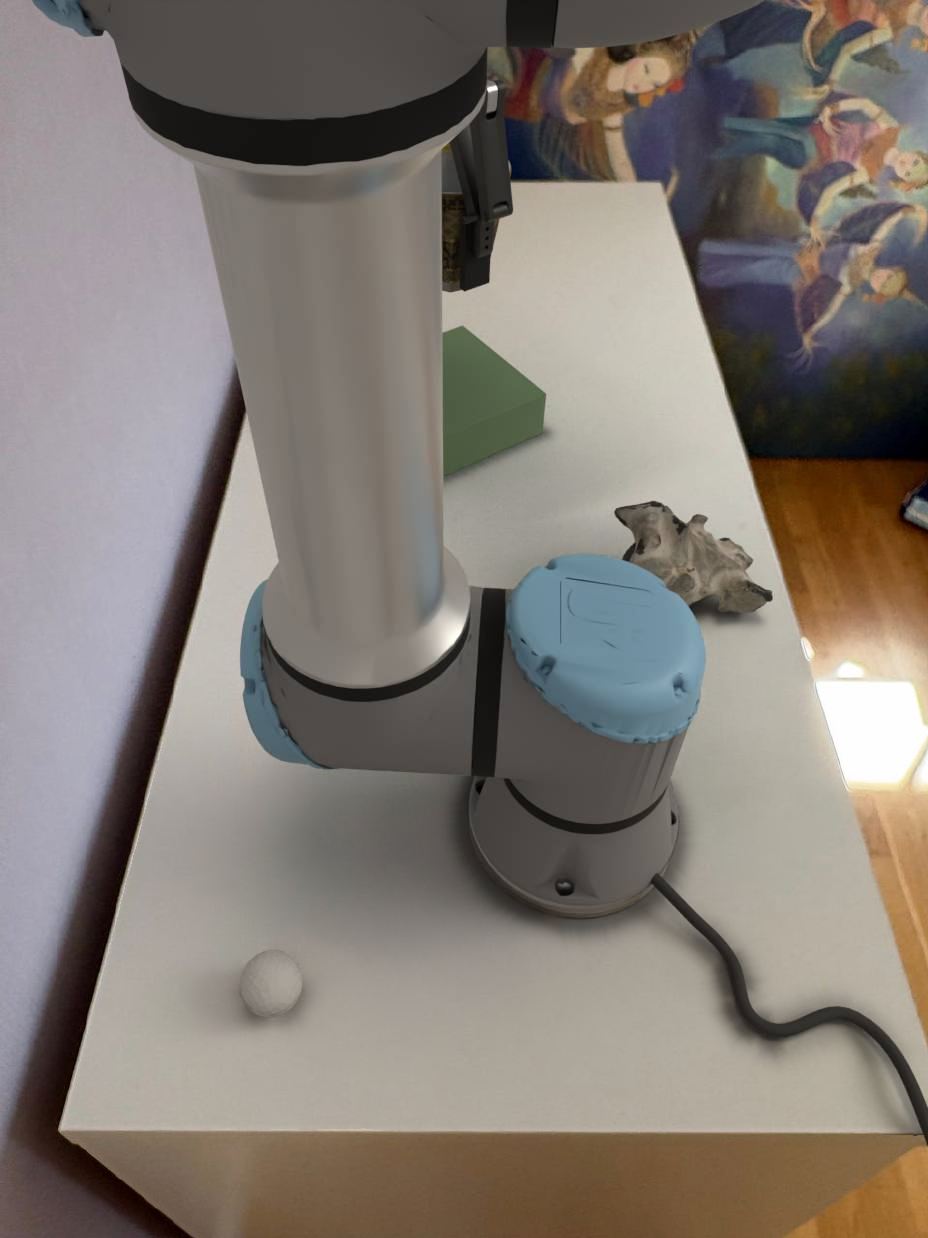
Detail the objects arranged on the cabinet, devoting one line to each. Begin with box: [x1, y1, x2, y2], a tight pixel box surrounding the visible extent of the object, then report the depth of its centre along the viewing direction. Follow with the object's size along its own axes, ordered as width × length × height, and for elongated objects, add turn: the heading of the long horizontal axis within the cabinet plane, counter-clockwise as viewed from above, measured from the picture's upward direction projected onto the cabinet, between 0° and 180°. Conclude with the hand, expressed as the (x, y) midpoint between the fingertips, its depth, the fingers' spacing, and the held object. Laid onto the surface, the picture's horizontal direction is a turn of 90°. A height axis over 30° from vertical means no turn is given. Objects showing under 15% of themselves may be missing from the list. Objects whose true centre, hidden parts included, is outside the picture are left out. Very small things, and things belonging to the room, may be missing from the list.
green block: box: [442, 325, 547, 477], centre depth 101 cm, size 15×15×5 cm
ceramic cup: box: [441, 142, 512, 293], centre depth 84 cm, size 13×10×10 cm
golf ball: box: [238, 949, 304, 1018], centre depth 61 cm, size 4×4×4 cm
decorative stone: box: [613, 500, 774, 614], centre depth 84 cm, size 16×9×10 cm
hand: (441, 259), depth 87 cm, fingers closed on ceramic cup, 10 cm apart
